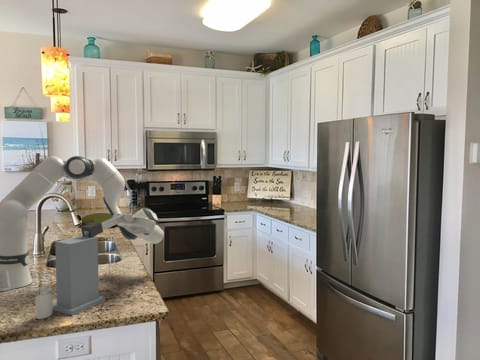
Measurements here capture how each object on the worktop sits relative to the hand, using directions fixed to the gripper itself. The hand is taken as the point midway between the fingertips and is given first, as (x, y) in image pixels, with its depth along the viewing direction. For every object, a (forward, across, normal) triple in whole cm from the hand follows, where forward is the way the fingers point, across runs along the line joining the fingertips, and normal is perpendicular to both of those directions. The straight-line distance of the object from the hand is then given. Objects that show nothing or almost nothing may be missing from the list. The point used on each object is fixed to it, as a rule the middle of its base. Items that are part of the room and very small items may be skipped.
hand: (120, 215), depth 171 cm
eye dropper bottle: (+16, -2, +46) cm, 49 cm away
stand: (+4, 0, +39) cm, 40 cm away
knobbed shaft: (+5, 0, +7) cm, 9 cm away
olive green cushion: (-102, -118, -21) cm, 157 cm away
